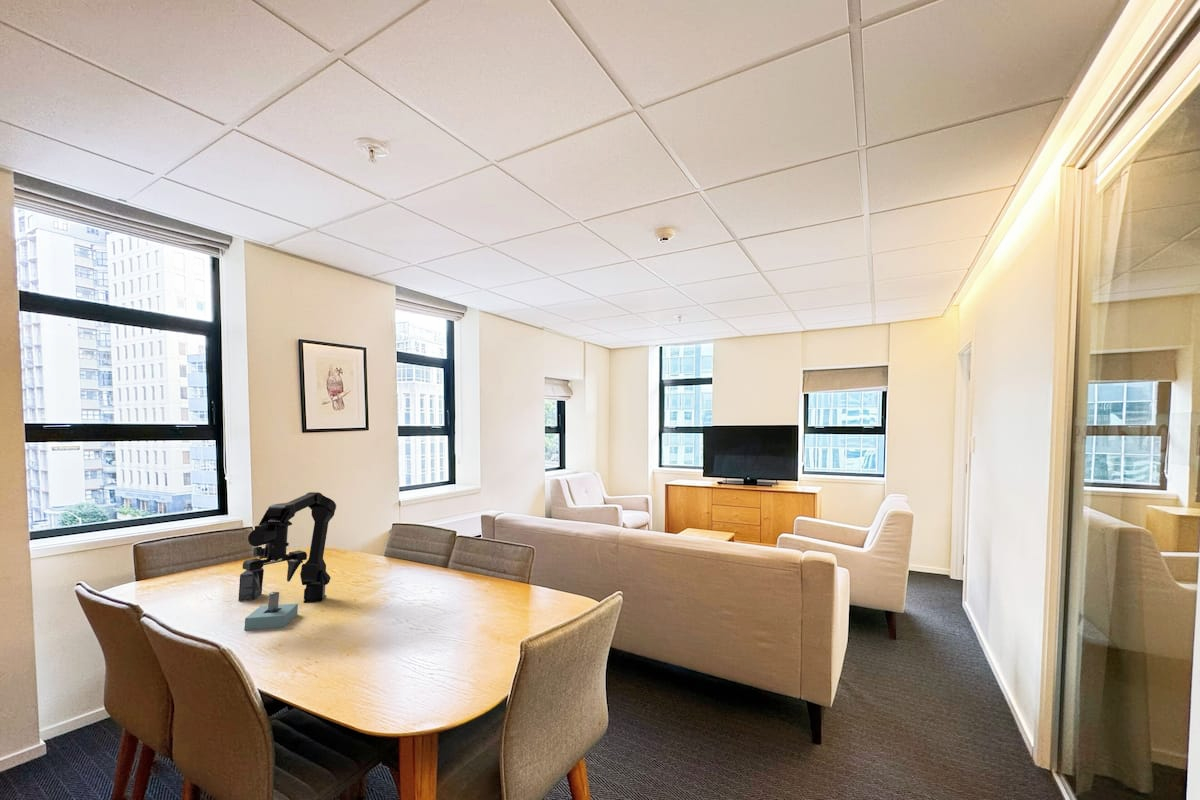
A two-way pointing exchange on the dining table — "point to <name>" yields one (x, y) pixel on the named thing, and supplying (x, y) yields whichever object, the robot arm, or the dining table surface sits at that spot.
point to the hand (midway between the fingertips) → (274, 584)
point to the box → (248, 587)
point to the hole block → (271, 617)
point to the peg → (273, 602)
